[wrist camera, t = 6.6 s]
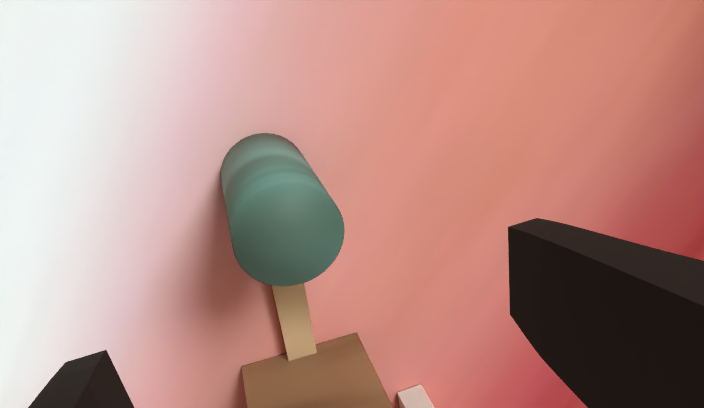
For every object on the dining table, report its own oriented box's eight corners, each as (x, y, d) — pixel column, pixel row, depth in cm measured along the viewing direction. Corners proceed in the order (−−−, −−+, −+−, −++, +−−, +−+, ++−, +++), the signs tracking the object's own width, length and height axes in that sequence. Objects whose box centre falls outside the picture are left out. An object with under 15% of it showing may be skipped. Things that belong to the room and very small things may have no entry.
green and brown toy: (368, 415, 24) (419, 537, 19) (264, 449, 23) (287, 589, 18) (326, 120, 18) (386, 178, 12) (180, 149, 17) (178, 226, 11)
